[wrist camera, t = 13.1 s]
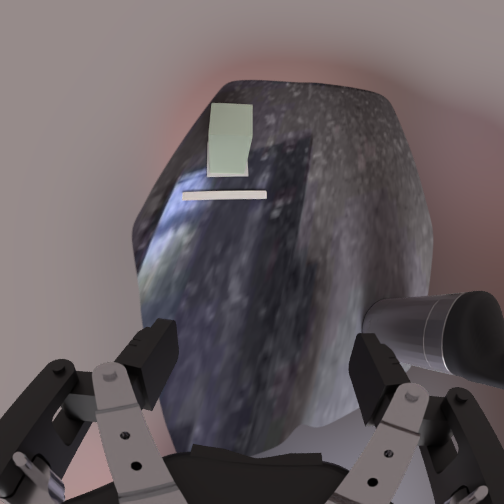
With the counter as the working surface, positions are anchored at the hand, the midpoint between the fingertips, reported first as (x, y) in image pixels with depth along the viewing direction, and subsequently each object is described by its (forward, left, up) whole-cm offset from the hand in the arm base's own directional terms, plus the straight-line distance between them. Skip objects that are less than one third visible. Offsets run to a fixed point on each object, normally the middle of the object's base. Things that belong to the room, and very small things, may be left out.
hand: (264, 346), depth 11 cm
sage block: (0, -23, -25) cm, 34 cm away
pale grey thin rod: (0, -17, -25) cm, 30 cm away
